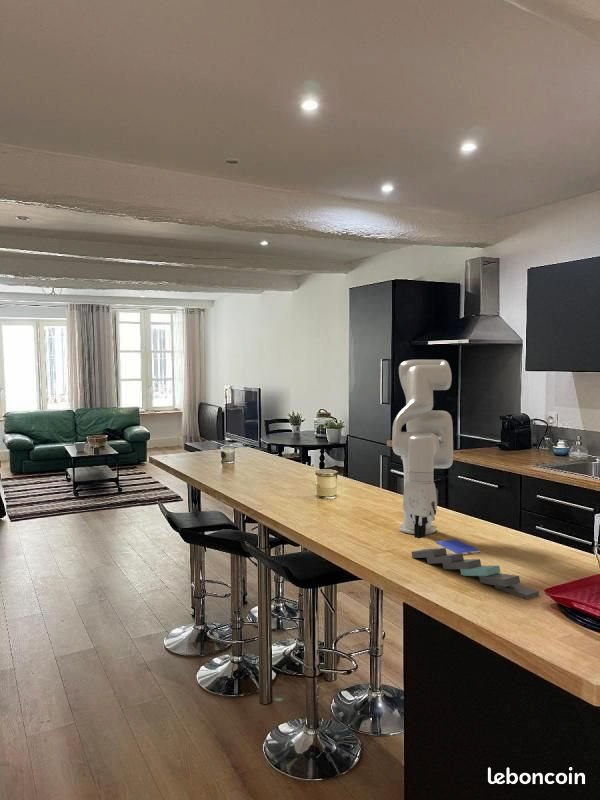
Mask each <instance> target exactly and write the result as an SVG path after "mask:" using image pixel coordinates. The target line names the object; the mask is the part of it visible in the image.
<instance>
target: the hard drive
mask: <svg viewBox="0 0 600 800" xmlns="http://www.w3.org/2000/svg"><path fill="white" fill-rule="evenodd" d="M434 543H435V545H436V544H437V545H436V546H438V545H439V546H438V547H440V546H441V547H440V548H442V547H443V548H446V549H447V550H446V551H448V550H449V551H448V552H450V551H452V552H454V553H463V554H466V553H474V552H480V553H481V550H480V549H479V548H476V547H474V546H473V545H470V544H468V543H465V542H463V541H461V540H459V539H457V538H453V539H446V540H445V539H444V540H437V541H435V542H434ZM452 552H451V553H452ZM454 553H453V554H454ZM474 554H475V553H474ZM466 555H467V554H466Z"/></svg>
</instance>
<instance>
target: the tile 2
mask: <svg viewBox="0 0 600 800" xmlns="http://www.w3.org/2000/svg"><path fill="white" fill-rule="evenodd" d="M459 560H465V559H464V555H463V553H455V554H454V553H447V554H445V555H441V556H436V557H426V561H427V564H428V565H430V564H442V563H451V562H455V561H459Z"/></svg>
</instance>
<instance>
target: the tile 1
mask: <svg viewBox="0 0 600 800" xmlns="http://www.w3.org/2000/svg"><path fill="white" fill-rule="evenodd" d="M445 554H448V553H447V550H446V548H442V547H438V548H424V549H418V550H413V551H411V558H412V559H418V558H420V559H421V558H422V559H423V558H427V557H436V556H441V555H445Z"/></svg>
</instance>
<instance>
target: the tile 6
mask: <svg viewBox="0 0 600 800" xmlns="http://www.w3.org/2000/svg"><path fill="white" fill-rule="evenodd" d="M494 589H496V590H500V591H503V592H505V593H507V594H510V595H514V596H516V597H518V598H522V599H524V600H529V599H533V598H535V597H538V596H539V595H540V591H539V590H537V589H534V588H531V587H529V586H526V585H523V584H521V583H519V584H515V585H511V586H507V587H502V586H496V585H494Z"/></svg>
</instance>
